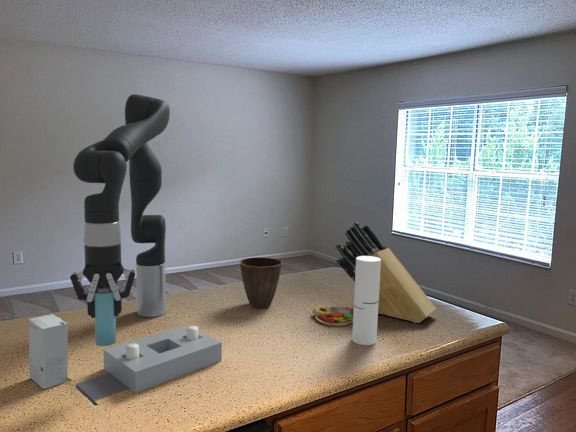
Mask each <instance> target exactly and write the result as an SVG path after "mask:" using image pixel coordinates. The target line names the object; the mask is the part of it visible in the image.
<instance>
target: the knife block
mask: <svg viewBox="0 0 576 432" xmlns="http://www.w3.org/2000/svg"><path fill="white" fill-rule="evenodd" d="M344 234H345V236H346V238H347V240H348V241H346V242H345V245H343V246H342V245H341V243H337V244H336V245H335V247H336V249H337V252H339V253H340V255H341V256H342V257H340V258H338V259H336V263H337V264H338V265H340V267H341V268H342V270H343V271H344V272H345V273H346V274H347V275H348V277H349V278H351V279H352V280H353V281H354V282H355V272H356V257H359V256H373V257H378V258H380V259H381V269H380V287H379V304H378V314H380V315H385V316H389V317H392V318H397V319H401V320H405V321H409V322H412V323H419V324H420V323H421V322H423V321H424V320H425V319H427V318H428V317H429V316H430V315H432V314H433V313H434V312H436V311H437V308H436V306H435V305H434V304H433V303H432V301H431V300H430V299H429V297H428V296H427V295H426V293H425V292H424V291H423V290H422V288H421V287H420V286H419V284H418V283H417V281H415V279H414V278H413V277H412V276H411V274H410V273H409V272H408V270H407V269H406V267H405V266H404V265H403V264H402V262H401V261H400V260H399V259H398V258H397V256H396V255H395V254H394V253H393V251H392V250H391V249H390V248H389V247H386V246H383V244H382V243H381V241H380V240H379V238H378V237H377V235H376V234H375V233H374V231H373V230H372V229H371V228H370V227H369V226H368V225H365V226H363V227H362V226H361V225H360V223H359V222H357V221H356V222H353V224H352V226H349V227H348V229H345V230H344Z"/></svg>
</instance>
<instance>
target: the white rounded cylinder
mask: <svg viewBox="0 0 576 432" xmlns="http://www.w3.org/2000/svg"><path fill="white" fill-rule="evenodd" d="M137 358H139V345H138V344H135V343H133V344H128V345H126V360H128V361H130V360H134V359H137Z"/></svg>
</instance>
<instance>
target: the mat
mask: <svg viewBox="0 0 576 432" xmlns="http://www.w3.org/2000/svg"><path fill="white" fill-rule="evenodd" d="M75 389H76V390H77V391H78V392H80V394H82V395H83V396H84V397H85V398H86V397H87V398H88V399H87V398H86V399H87V400H88V401H89V402H90V403H92V404H93V405H94V406H96V405H98V403H97V402H96V401H99V400H101V399H104V398H107V397H109V396H112V395H115V394H117V393H120V392H122V391H126V390H130V388H129V387H127V386H126V385H125V384H123V383H122V382H121V381H119V380H118V379H117V378H116V377H114V376H113V375H112V374H110V373H109V372H107V373H105V374H102V375H99V376H95V377H93V378H90V379H89V378H88V379H87V380H84V381H80V382H78V383H75Z"/></svg>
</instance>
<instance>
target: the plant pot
mask: <svg viewBox="0 0 576 432" xmlns="http://www.w3.org/2000/svg"><path fill="white" fill-rule="evenodd" d="M282 264H283V262H282V260H280V259H278V258H273V257H262V256H261V257H259V256H257V257H249V258H248V257H247V258H244V259H241V260H240V261H239V266H240V274H241V279H242V283H243V288H244V292H245V295H246V298H247V301H248V303H249V306H250V307H252V308H255V309H266V308H269V307H271V305H272V303H273V301H274V297H275V294H276V292H277V288H278V284H279V280H280V278H281V277H280V276H281V270H282Z"/></svg>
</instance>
